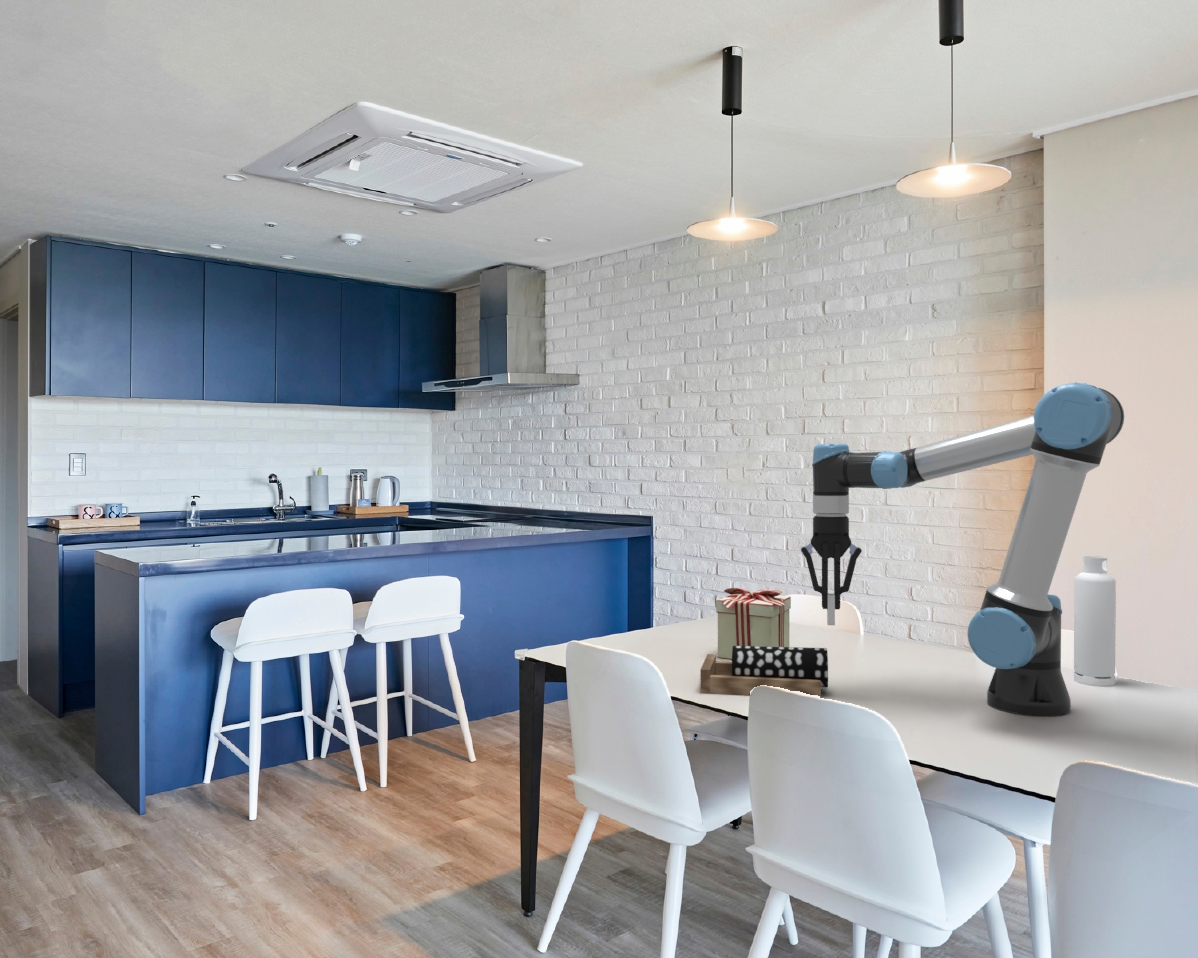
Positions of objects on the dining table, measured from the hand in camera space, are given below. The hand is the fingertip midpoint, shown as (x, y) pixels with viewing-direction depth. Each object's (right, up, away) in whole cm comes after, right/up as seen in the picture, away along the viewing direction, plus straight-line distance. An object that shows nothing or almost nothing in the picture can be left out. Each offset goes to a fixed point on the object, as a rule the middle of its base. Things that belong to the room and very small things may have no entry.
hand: (831, 624), depth 192 cm
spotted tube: (-1, -9, -2) cm, 9 cm away
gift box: (-11, -14, +34) cm, 38 cm away
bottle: (+61, -14, +7) cm, 63 cm away
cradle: (-14, -14, +3) cm, 21 cm away
